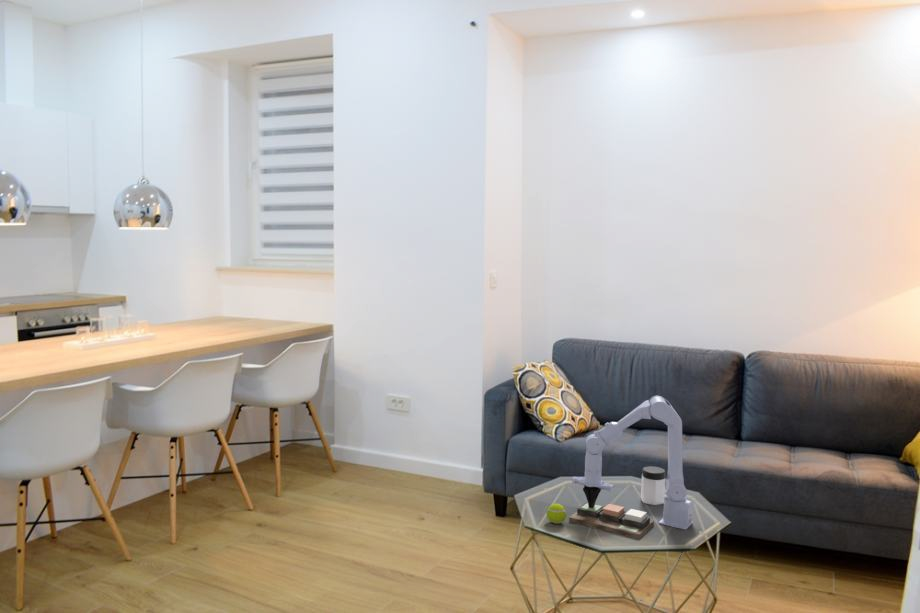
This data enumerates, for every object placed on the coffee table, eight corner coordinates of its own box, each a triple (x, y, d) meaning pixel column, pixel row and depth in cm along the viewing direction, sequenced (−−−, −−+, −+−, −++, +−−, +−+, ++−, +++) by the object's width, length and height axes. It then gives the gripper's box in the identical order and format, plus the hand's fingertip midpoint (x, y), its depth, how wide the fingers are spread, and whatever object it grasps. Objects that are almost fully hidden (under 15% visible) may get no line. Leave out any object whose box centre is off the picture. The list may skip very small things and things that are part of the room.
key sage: (602, 511, 272) (602, 506, 272) (595, 516, 267) (595, 511, 267) (587, 508, 275) (587, 502, 275) (580, 513, 270) (580, 507, 270)
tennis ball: (558, 528, 260) (559, 509, 259) (542, 523, 265) (542, 504, 264) (569, 523, 265) (570, 504, 264) (553, 517, 270) (554, 499, 269)
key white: (646, 518, 263) (646, 512, 263) (640, 523, 259) (641, 517, 258) (630, 514, 266) (631, 508, 266) (624, 519, 262) (625, 513, 261)
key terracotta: (624, 512, 268) (624, 507, 267) (618, 517, 263) (618, 512, 263) (608, 509, 271) (608, 503, 270) (602, 514, 266) (602, 508, 266)
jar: (638, 496, 292) (640, 465, 291) (660, 497, 292) (662, 466, 290) (643, 505, 283) (644, 473, 282) (666, 506, 283) (667, 474, 282)
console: (653, 525, 265) (654, 515, 265) (639, 538, 253) (639, 529, 253) (585, 509, 278) (586, 500, 278) (569, 521, 267) (569, 512, 266)
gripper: (569, 468, 270) (567, 505, 271) (608, 476, 262) (606, 515, 264) (577, 463, 276) (576, 499, 277) (616, 471, 268) (614, 508, 270)
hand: (591, 507), depth 271 cm, fingers closed, pressing on key sage
